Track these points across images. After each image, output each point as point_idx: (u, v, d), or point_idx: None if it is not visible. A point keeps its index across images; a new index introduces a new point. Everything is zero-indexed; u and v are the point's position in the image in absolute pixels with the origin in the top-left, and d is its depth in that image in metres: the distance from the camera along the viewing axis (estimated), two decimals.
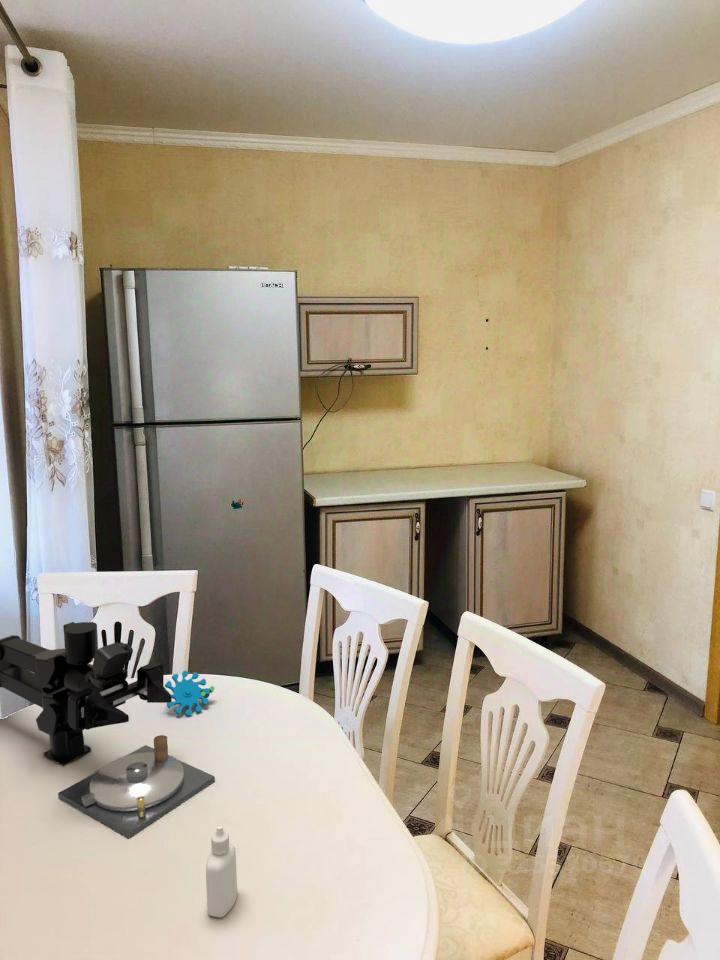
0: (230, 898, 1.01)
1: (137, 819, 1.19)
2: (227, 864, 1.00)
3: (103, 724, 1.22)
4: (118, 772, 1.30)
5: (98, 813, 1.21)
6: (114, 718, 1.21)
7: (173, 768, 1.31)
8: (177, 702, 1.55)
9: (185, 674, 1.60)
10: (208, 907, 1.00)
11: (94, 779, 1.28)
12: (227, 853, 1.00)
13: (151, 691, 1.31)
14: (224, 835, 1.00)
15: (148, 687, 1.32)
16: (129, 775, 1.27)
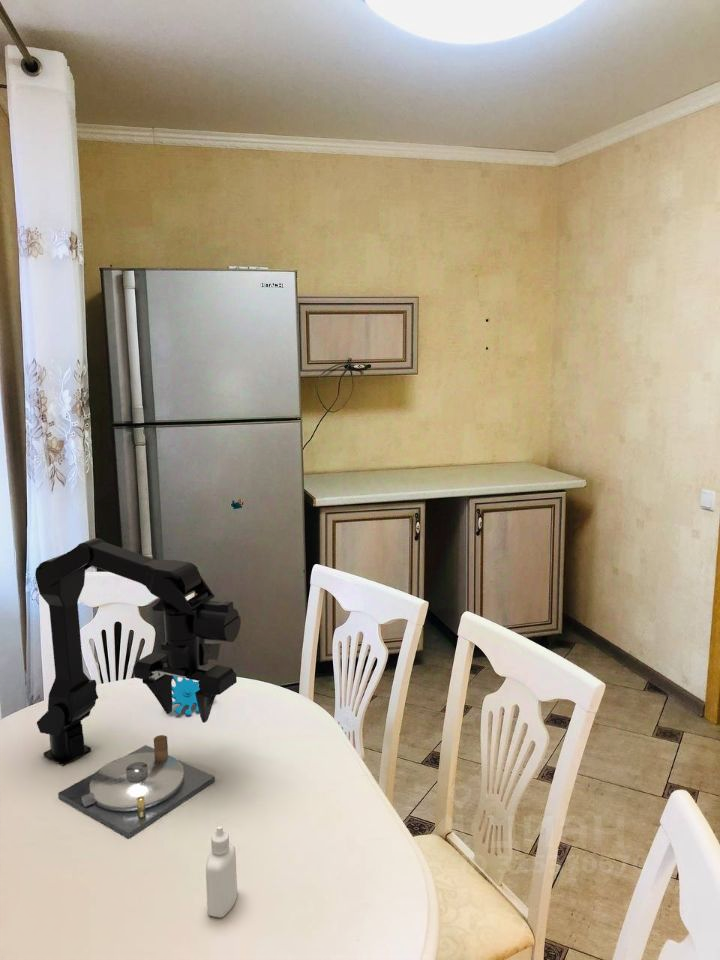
0: (230, 898, 1.01)
1: (137, 819, 1.19)
2: (227, 864, 1.00)
3: (204, 704, 1.25)
4: (118, 772, 1.30)
5: (98, 813, 1.21)
6: (207, 711, 1.27)
7: (173, 768, 1.31)
8: (177, 702, 1.56)
9: None
10: (208, 907, 1.00)
11: (94, 779, 1.28)
12: (227, 853, 1.00)
13: (164, 685, 1.31)
14: (224, 835, 1.00)
15: (165, 678, 1.31)
16: (129, 775, 1.27)
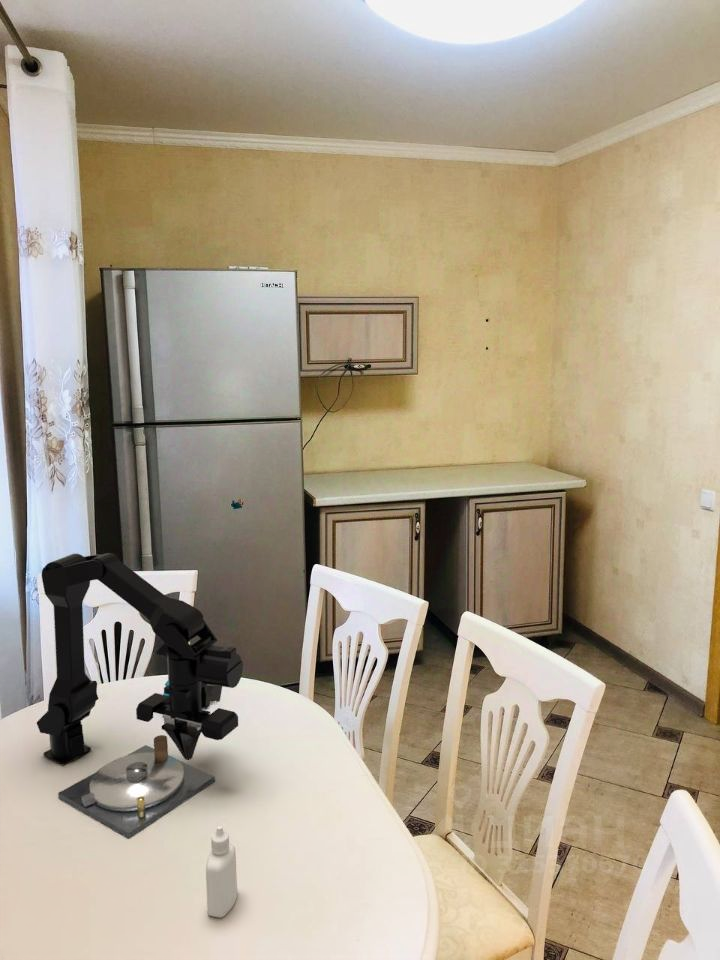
0: (230, 898, 1.01)
1: (137, 819, 1.19)
2: (227, 864, 1.00)
3: (189, 743, 1.29)
4: (118, 772, 1.30)
5: (98, 813, 1.21)
6: (191, 749, 1.31)
7: (173, 768, 1.31)
8: None
9: None
10: (208, 907, 1.00)
11: (94, 779, 1.28)
12: (227, 853, 1.00)
13: None
14: (224, 835, 1.00)
15: (183, 724, 1.31)
16: (129, 775, 1.27)
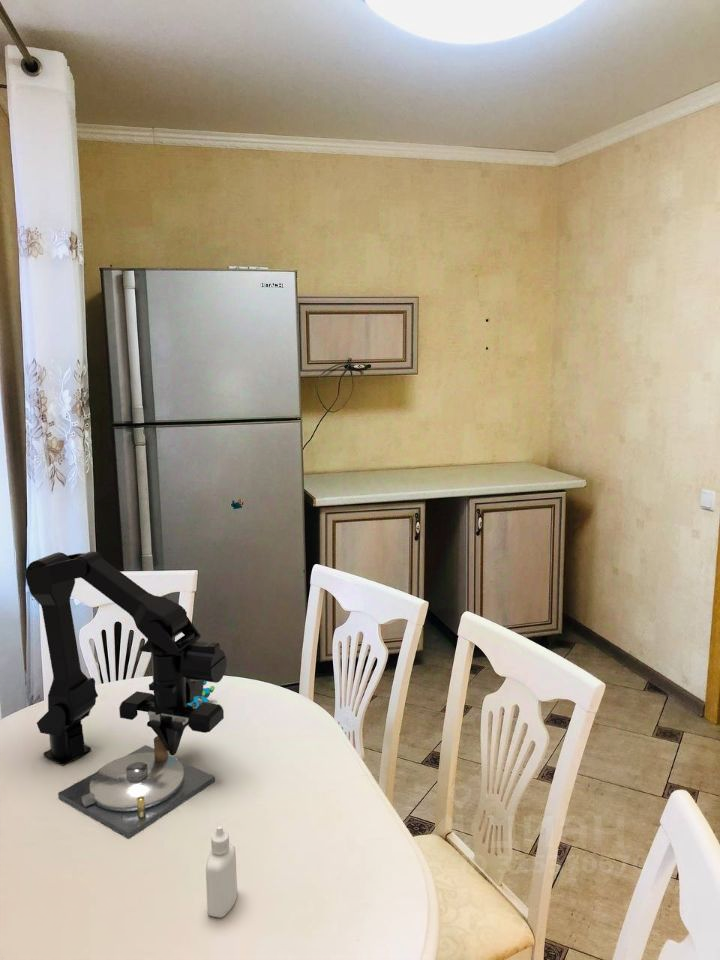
0: (230, 898, 1.01)
1: (137, 819, 1.19)
2: (227, 865, 1.00)
3: (174, 738, 1.30)
4: (118, 772, 1.30)
5: (98, 813, 1.21)
6: (176, 744, 1.32)
7: (173, 768, 1.31)
8: None
9: None
10: (208, 907, 1.00)
11: (94, 779, 1.28)
12: (227, 853, 1.00)
13: None
14: (224, 835, 1.00)
15: (168, 720, 1.32)
16: (129, 775, 1.27)
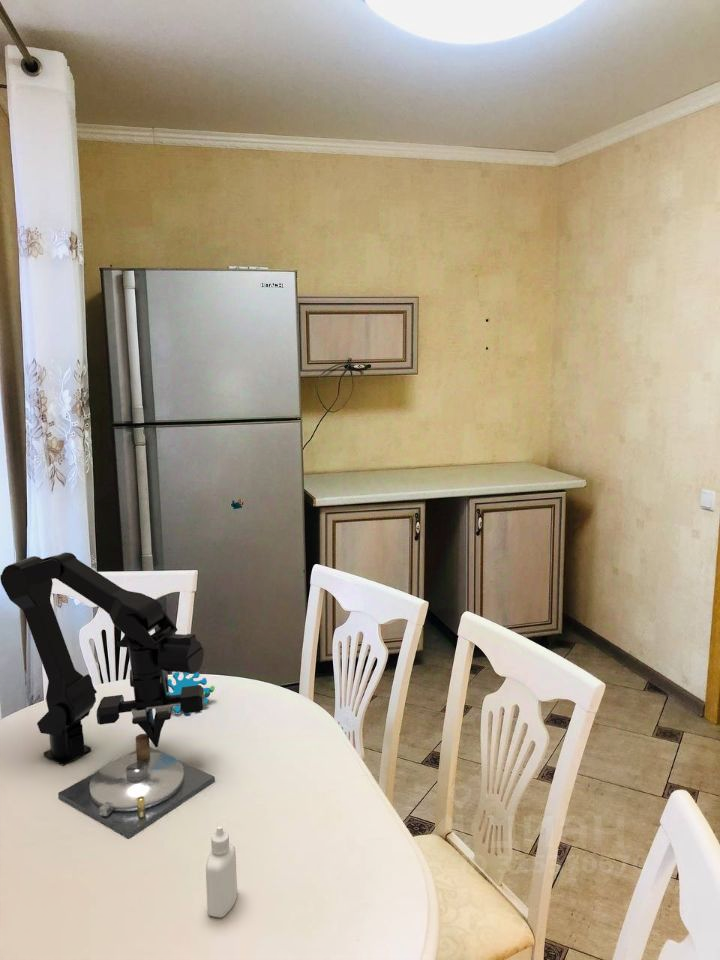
0: (230, 898, 1.01)
1: (137, 819, 1.19)
2: (227, 864, 1.00)
3: (161, 728, 1.33)
4: (114, 779, 1.28)
5: (98, 813, 1.21)
6: None
7: (165, 760, 1.34)
8: None
9: (186, 673, 1.60)
10: (208, 907, 1.00)
11: (95, 792, 1.24)
12: (227, 853, 1.00)
13: (151, 720, 1.34)
14: (224, 835, 1.00)
15: (150, 714, 1.34)
16: (135, 775, 1.27)
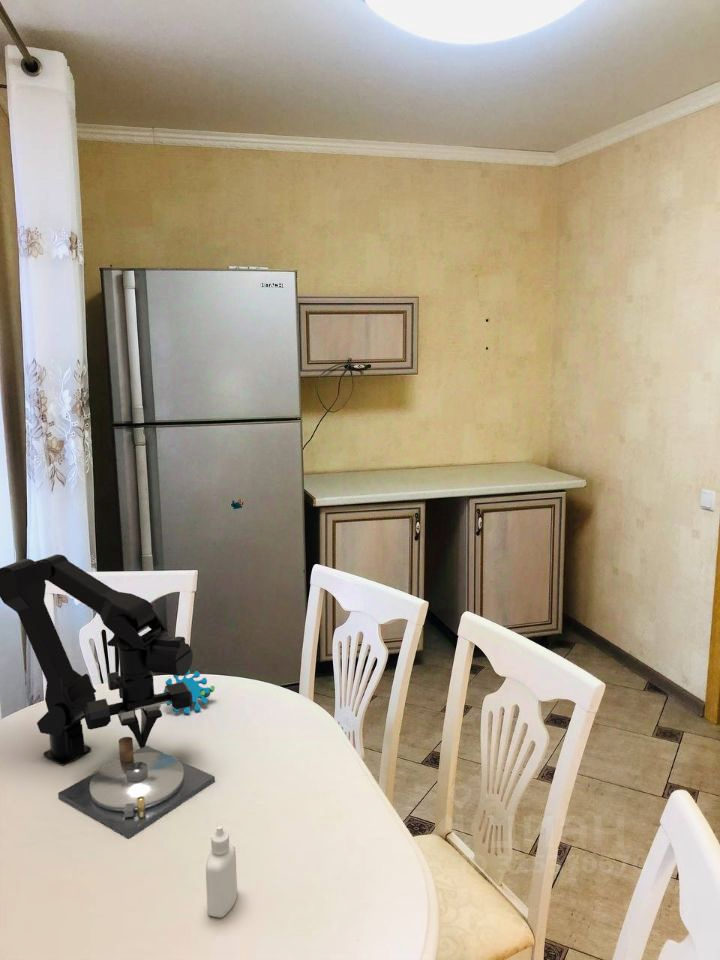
0: (230, 898, 1.01)
1: (137, 819, 1.19)
2: (227, 864, 1.00)
3: (151, 727, 1.34)
4: (115, 785, 1.26)
5: (98, 813, 1.21)
6: None
7: (152, 757, 1.35)
8: None
9: None
10: (208, 907, 1.00)
11: (105, 799, 1.22)
12: (227, 853, 1.00)
13: None
14: (224, 835, 1.00)
15: (135, 715, 1.34)
16: (140, 774, 1.27)
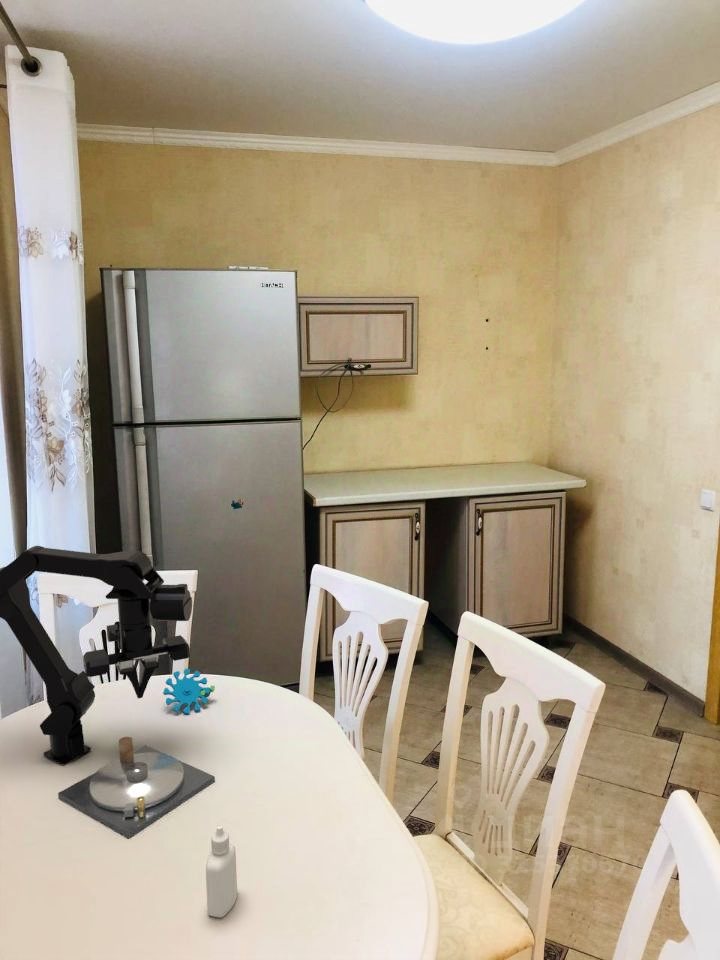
0: (230, 898, 1.01)
1: (137, 819, 1.19)
2: (227, 864, 1.00)
3: (149, 677, 1.37)
4: (115, 785, 1.26)
5: (98, 813, 1.21)
6: None
7: (152, 757, 1.35)
8: (176, 699, 1.57)
9: (186, 672, 1.61)
10: (208, 907, 1.00)
11: (105, 799, 1.22)
12: (227, 853, 1.00)
13: None
14: (224, 835, 1.00)
15: (133, 665, 1.37)
16: (140, 774, 1.27)
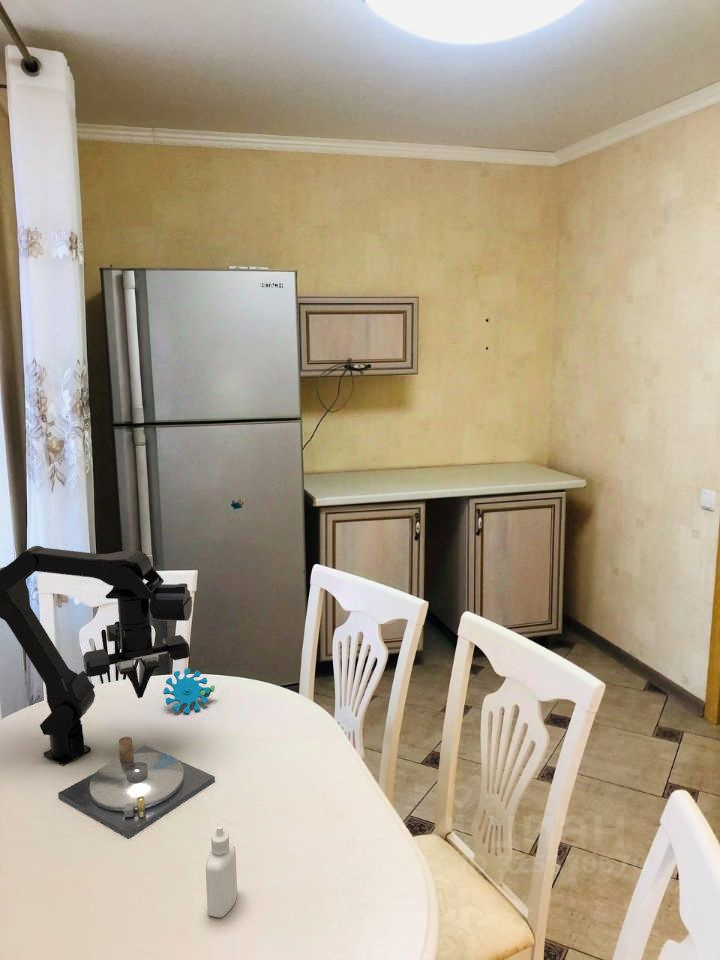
0: (230, 898, 1.01)
1: (137, 819, 1.19)
2: (227, 864, 1.00)
3: (149, 677, 1.37)
4: (115, 785, 1.26)
5: (98, 813, 1.21)
6: None
7: (152, 757, 1.35)
8: (176, 699, 1.57)
9: (187, 672, 1.61)
10: (208, 907, 1.00)
11: (105, 799, 1.22)
12: (227, 853, 1.00)
13: None
14: (224, 835, 1.00)
15: (134, 665, 1.37)
16: (140, 774, 1.27)
